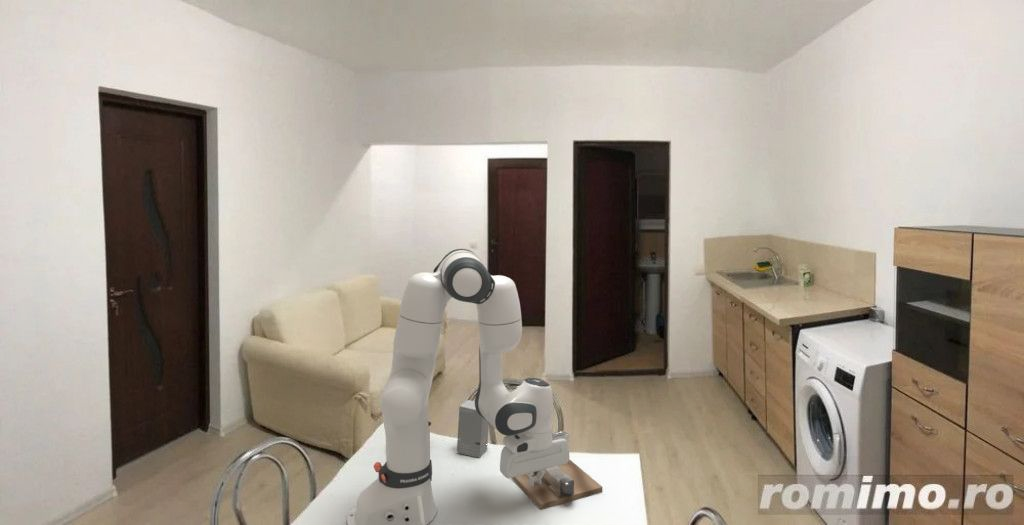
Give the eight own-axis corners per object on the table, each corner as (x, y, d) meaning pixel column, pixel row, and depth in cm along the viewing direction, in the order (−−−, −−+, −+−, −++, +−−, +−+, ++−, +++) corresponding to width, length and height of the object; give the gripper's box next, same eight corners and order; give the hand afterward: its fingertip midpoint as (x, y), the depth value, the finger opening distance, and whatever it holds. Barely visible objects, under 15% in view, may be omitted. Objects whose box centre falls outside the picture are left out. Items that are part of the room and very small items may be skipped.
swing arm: (531, 465, 160) (531, 456, 159) (542, 462, 162) (543, 453, 161) (564, 497, 143) (564, 487, 143) (576, 494, 145) (577, 483, 145)
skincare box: (456, 453, 172) (456, 406, 170) (466, 444, 179) (466, 398, 177) (480, 459, 169) (480, 411, 167) (489, 449, 176) (490, 402, 174)
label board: (540, 509, 143) (541, 483, 142) (506, 472, 161) (506, 448, 160) (602, 491, 152) (603, 466, 151) (563, 458, 170) (563, 436, 169)
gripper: (562, 425, 154) (561, 470, 156) (497, 439, 145) (497, 487, 147) (574, 434, 148) (573, 481, 150) (507, 449, 139) (507, 499, 141)
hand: (535, 484), depth 148 cm, fingers closed
